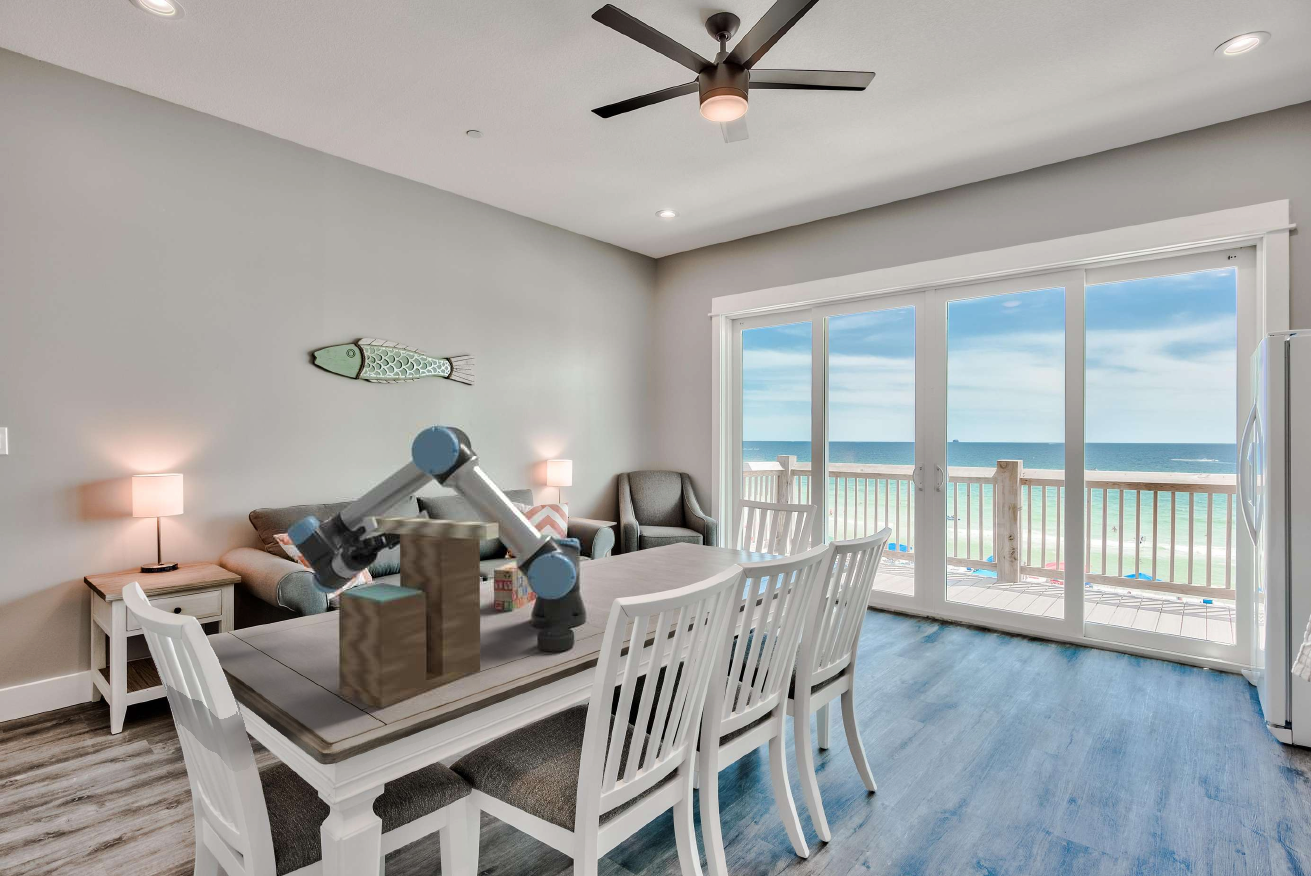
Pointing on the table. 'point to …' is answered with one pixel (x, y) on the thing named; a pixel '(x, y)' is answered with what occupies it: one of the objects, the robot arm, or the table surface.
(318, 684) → the table surface
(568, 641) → the smart speaker
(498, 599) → the stack of blocks
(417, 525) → the birch bar
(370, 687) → the oak stand
